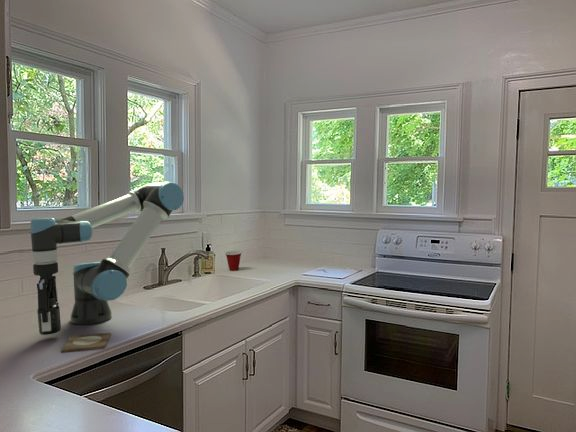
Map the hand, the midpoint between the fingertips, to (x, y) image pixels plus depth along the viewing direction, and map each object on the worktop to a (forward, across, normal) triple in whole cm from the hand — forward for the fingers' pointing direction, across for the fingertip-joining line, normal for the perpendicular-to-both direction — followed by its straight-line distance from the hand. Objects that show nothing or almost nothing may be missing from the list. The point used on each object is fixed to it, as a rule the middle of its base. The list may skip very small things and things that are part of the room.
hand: (49, 327), depth 153 cm
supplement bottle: (+2, 0, 0) cm, 2 cm away
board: (+4, +8, +14) cm, 16 cm away
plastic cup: (+7, -115, +78) cm, 139 cm away
